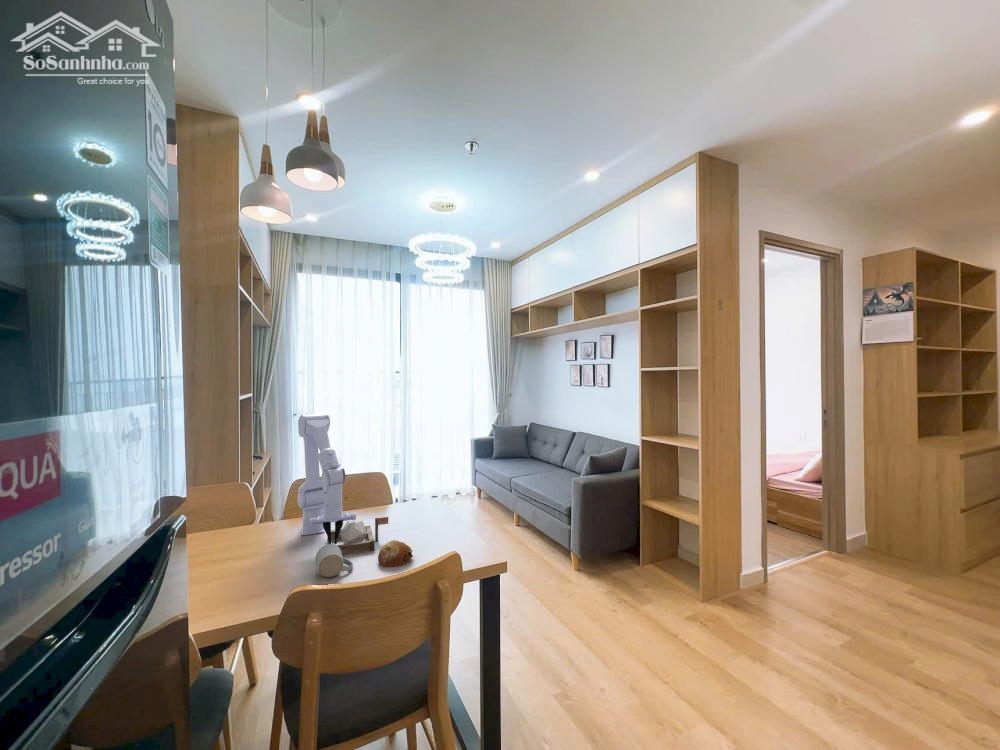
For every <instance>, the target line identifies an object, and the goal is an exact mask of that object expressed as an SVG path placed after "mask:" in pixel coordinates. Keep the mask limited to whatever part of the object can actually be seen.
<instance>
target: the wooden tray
mask: <svg viewBox="0 0 1000 750" xmlns="http://www.w3.org/2000/svg"><path fill="white" fill-rule="evenodd" d="M374 523H375V524H374V527H375V528H374V534H373V531H372V528H371V527H372V526H371V525H364V526H365V528H366V531H367V533H368V534H367V535H366V537H365V538H366V540H365V541H364V540H363V541H362V542H356V543H350V544H344V543H342V544H336V545H337V546H338V547H339V548H340V550H341V553H342V557H343V556H349V555H353V554H354V555H356V554H360V553H368V552H373V551H375V550H376V549H375V548H376V547H375V544H376V542H379V526H382V525H388V524H389V516H382V517H375V518H374ZM342 529H343V528H341V530H342ZM341 530H340V531H341ZM339 533H340V532H339ZM334 538H335V529H334V530H333V529H331V541H334ZM374 538H375V539H374ZM338 540H342V539H341V536H340V534H339V535H338V539H337V541H338ZM327 542H329V540H328V539H327Z"/></svg>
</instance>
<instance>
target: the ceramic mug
mask: <svg viewBox="0 0 1000 750" xmlns="http://www.w3.org/2000/svg"><path fill="white" fill-rule="evenodd" d="M337 545H338V544H335V543H334V544H333V543H331V544H329V543H328V544H325V545H324V544H323V546H321V547H320V548H318V551H317V552H316V554H315V563H316V568H317V571H318V573H319V574H320V576H322V577H324V578H329V579H330V578H333V577H335V576H337V575H338V574H339V573H340V572H341V571H343V572H351V571H352V569H353V567H354V563H353V562H352V561H351V560H350V559H348V558H345V557H343V556H342V553H341V550H340V548H339V547H338V546H337Z"/></svg>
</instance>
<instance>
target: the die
mask: <svg viewBox="0 0 1000 750" xmlns="http://www.w3.org/2000/svg"><path fill="white" fill-rule="evenodd" d="M365 526H366V525H365V524H364V521H363V520H347V521H346V523H345V525H344V526H342V528H341V529H342V530H341V531H340V533H339V534H340V536H341V539H340V540H341V541H342V542H343V543H342V544H350V543H356V542H363V541H364V540H365V538H367V537H366V535H367V534H368V533H367V531H366V528H365Z"/></svg>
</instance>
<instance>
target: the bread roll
mask: <svg viewBox="0 0 1000 750" xmlns="http://www.w3.org/2000/svg"><path fill="white" fill-rule="evenodd" d="M412 552H413V549H412V547H411V546H409V545H407V544H406V543H405V542H403V541H398V540H396V539H393V540H392V539H391V540H390V541H388V542H386V543H385V544H384V545H383V546H382V547H381V548H380V551H379V552H378V555H377V560H378V561H377V562H378V564H379V565H380V566H381V567H383V568H388V569H389V568H399V567H403V566H405V565H407V564H409V563H410V562H411V560H412V558H413V557H414V555H413V553H412Z"/></svg>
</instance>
